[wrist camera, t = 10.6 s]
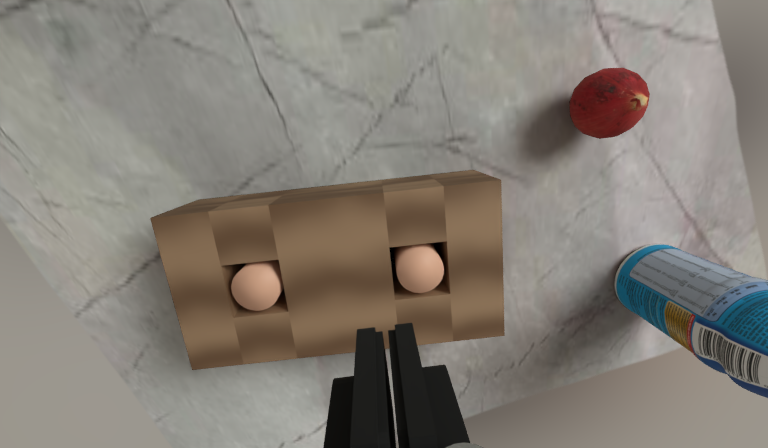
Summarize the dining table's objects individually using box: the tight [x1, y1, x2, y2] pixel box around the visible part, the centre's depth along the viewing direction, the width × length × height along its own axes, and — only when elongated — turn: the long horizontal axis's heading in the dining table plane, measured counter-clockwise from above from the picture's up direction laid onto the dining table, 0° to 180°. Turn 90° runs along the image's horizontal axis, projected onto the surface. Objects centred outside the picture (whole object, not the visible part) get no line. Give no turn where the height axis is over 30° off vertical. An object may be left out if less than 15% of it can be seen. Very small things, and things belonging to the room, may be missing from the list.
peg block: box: [150, 170, 504, 370], centre depth 34 cm, size 14×28×8 cm, turn 96°
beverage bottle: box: [615, 244, 768, 398], centre depth 30 cm, size 8×8×20 cm
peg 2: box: [392, 243, 444, 293], centre depth 34 cm, size 4×4×8 cm
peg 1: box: [231, 260, 284, 311], centre depth 34 cm, size 4×4×8 cm
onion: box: [569, 68, 650, 139], centre depth 31 cm, size 6×6×8 cm
